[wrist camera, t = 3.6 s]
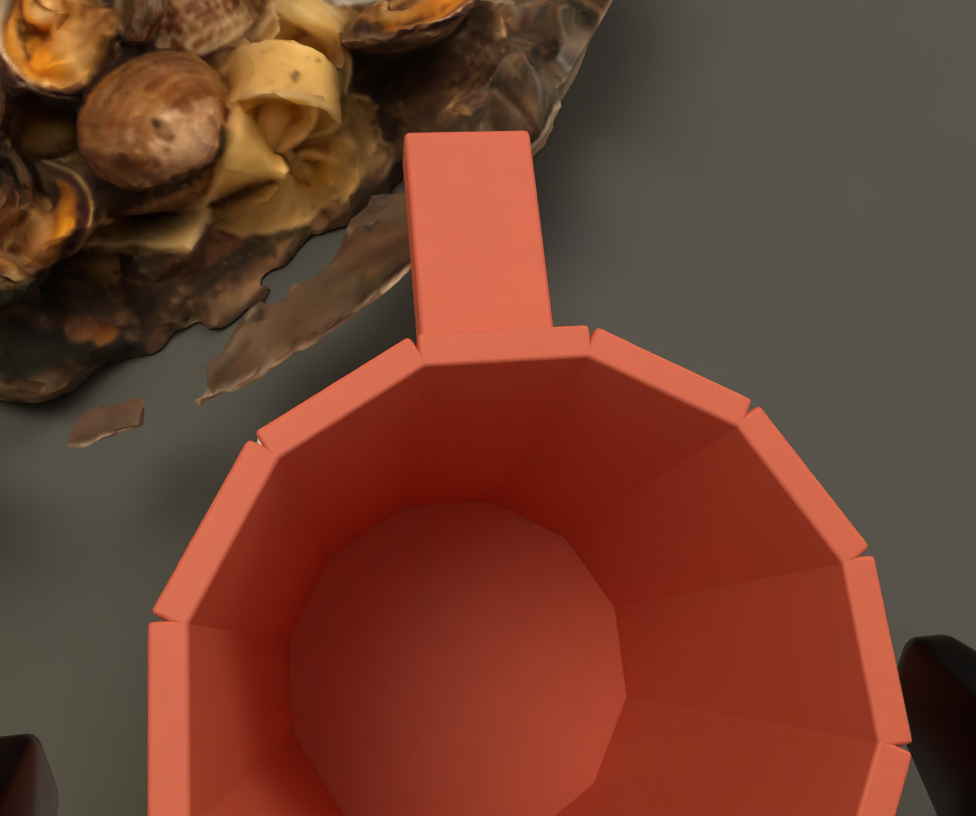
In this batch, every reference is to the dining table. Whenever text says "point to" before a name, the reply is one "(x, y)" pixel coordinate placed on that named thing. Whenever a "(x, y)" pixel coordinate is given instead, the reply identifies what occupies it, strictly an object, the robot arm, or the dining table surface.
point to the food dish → (232, 165)
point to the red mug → (519, 574)
